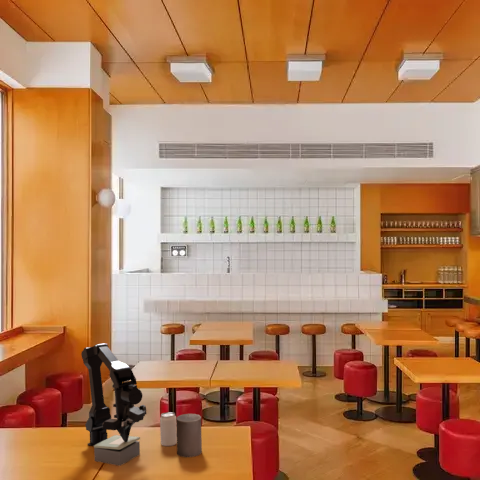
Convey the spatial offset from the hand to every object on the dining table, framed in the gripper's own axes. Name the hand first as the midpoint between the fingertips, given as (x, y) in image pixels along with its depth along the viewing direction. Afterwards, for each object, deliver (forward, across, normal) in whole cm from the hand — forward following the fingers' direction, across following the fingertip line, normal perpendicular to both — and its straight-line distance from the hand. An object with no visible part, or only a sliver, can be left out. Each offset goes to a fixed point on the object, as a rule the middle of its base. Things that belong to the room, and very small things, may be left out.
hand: (125, 441), depth 217 cm
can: (+7, +20, -6) cm, 22 cm away
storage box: (+6, 0, +4) cm, 8 cm away
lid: (+1, 0, +4) cm, 4 cm away
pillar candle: (+8, +15, -18) cm, 25 cm away
